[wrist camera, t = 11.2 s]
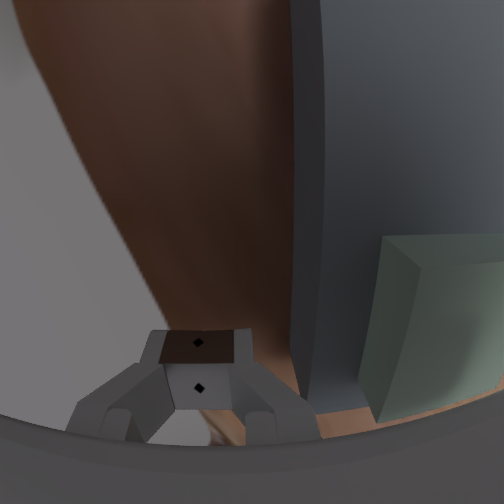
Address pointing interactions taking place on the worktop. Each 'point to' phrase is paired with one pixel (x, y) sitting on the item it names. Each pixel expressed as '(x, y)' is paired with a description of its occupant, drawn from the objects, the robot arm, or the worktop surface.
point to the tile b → (434, 323)
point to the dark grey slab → (384, 159)
